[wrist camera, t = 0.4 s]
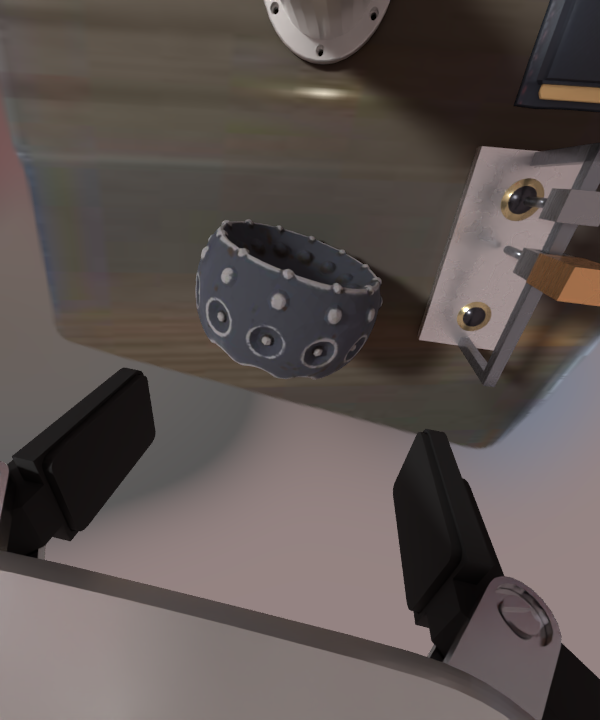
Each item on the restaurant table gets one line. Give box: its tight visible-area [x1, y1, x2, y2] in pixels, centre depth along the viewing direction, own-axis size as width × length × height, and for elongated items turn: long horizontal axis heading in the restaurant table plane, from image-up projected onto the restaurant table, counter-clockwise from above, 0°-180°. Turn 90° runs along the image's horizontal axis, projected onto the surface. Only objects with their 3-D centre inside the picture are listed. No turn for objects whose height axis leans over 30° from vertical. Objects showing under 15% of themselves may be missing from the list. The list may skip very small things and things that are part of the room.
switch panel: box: [417, 143, 600, 387], centre depth 34 cm, size 23×12×12 cm, turn 175°
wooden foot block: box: [503, 246, 600, 306], centre depth 29 cm, size 3×4×15 cm
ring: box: [196, 219, 383, 380], centre depth 35 cm, size 11×20×20 cm, turn 72°
